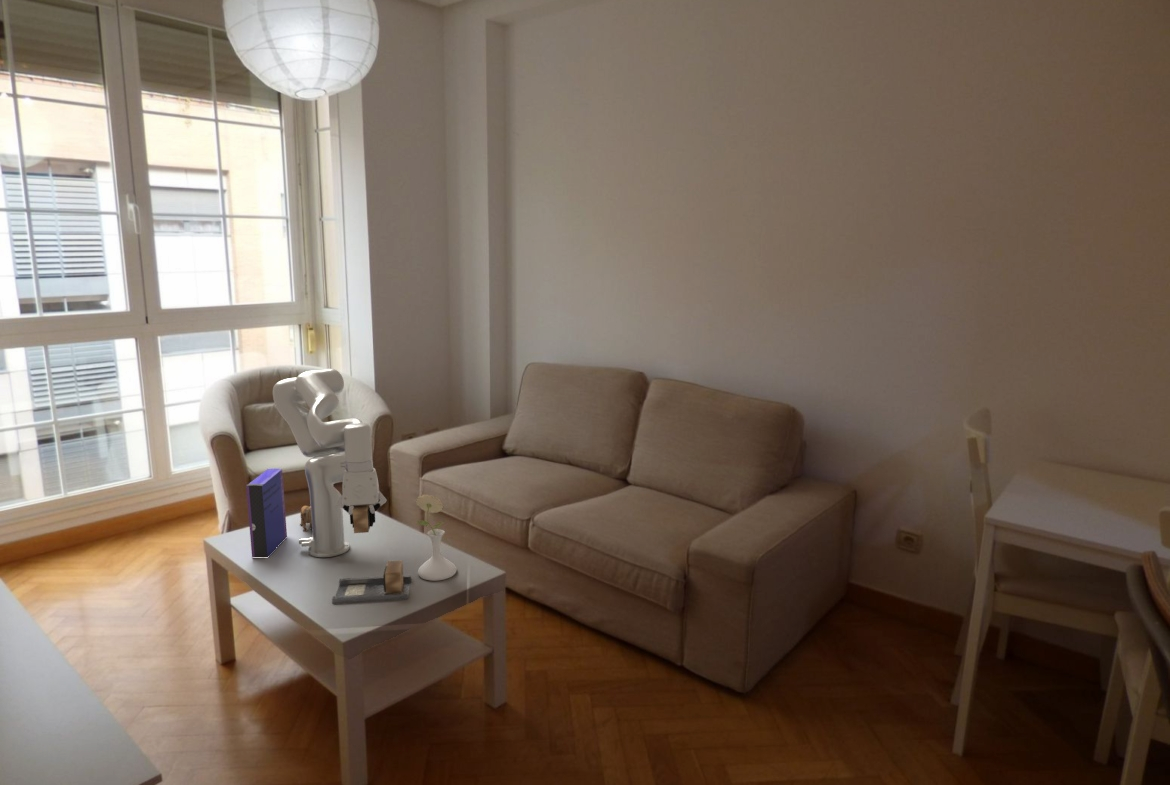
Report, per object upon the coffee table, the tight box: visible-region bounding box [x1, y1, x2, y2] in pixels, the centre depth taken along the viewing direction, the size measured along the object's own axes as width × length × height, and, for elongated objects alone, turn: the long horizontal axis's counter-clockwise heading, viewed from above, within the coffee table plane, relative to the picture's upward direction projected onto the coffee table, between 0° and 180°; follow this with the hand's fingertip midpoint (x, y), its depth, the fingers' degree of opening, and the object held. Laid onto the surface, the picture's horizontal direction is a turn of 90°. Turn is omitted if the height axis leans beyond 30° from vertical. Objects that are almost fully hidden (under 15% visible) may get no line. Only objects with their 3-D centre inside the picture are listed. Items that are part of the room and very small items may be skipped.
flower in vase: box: [415, 494, 457, 582], centre depth 222 cm, size 13×11×25 cm
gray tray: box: [331, 574, 412, 605], centre depth 212 cm, size 20×12×2 cm, turn 98°
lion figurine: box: [299, 505, 312, 532], centre depth 261 cm, size 15×5×9 cm, turn 36°
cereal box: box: [245, 468, 288, 558], centre depth 242 cm, size 17×5×24 cm, turn 2°
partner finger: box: [383, 560, 404, 593], centre depth 212 cm, size 5×8×7 cm, turn 8°
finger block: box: [352, 505, 371, 534], centre depth 221 cm, size 4×8×7 cm, turn 9°
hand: (363, 525), depth 221 cm, fingers closed on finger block, 4 cm apart
